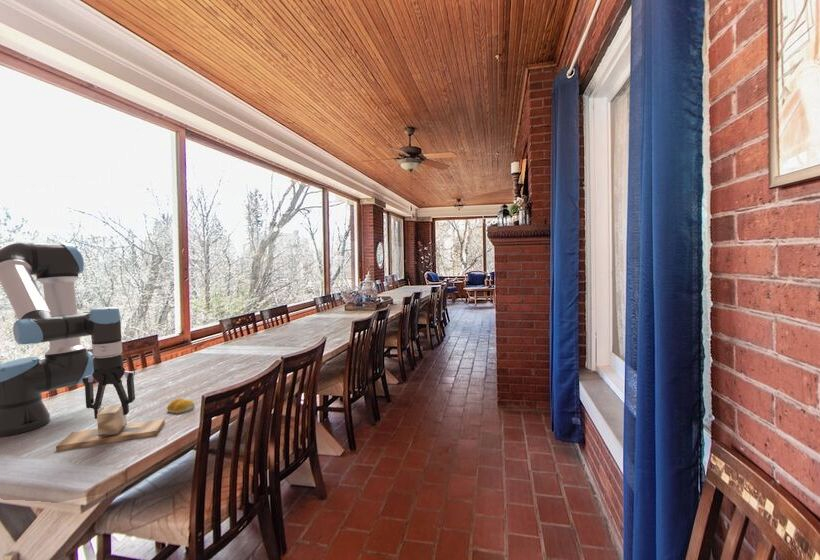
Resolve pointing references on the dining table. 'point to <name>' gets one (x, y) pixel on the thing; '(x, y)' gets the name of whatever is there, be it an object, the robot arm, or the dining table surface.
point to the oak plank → (125, 434)
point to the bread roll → (180, 406)
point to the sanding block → (109, 421)
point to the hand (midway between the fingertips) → (112, 425)
